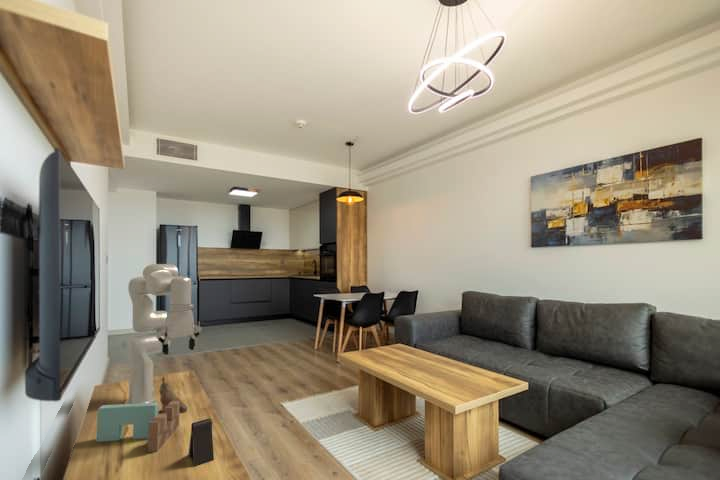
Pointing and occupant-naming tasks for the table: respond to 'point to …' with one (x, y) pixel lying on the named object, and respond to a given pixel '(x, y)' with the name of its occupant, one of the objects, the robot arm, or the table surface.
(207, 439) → the phone stand
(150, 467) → the table surface
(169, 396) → the brown carved statuette
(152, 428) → the walnut board
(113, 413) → the teal board
